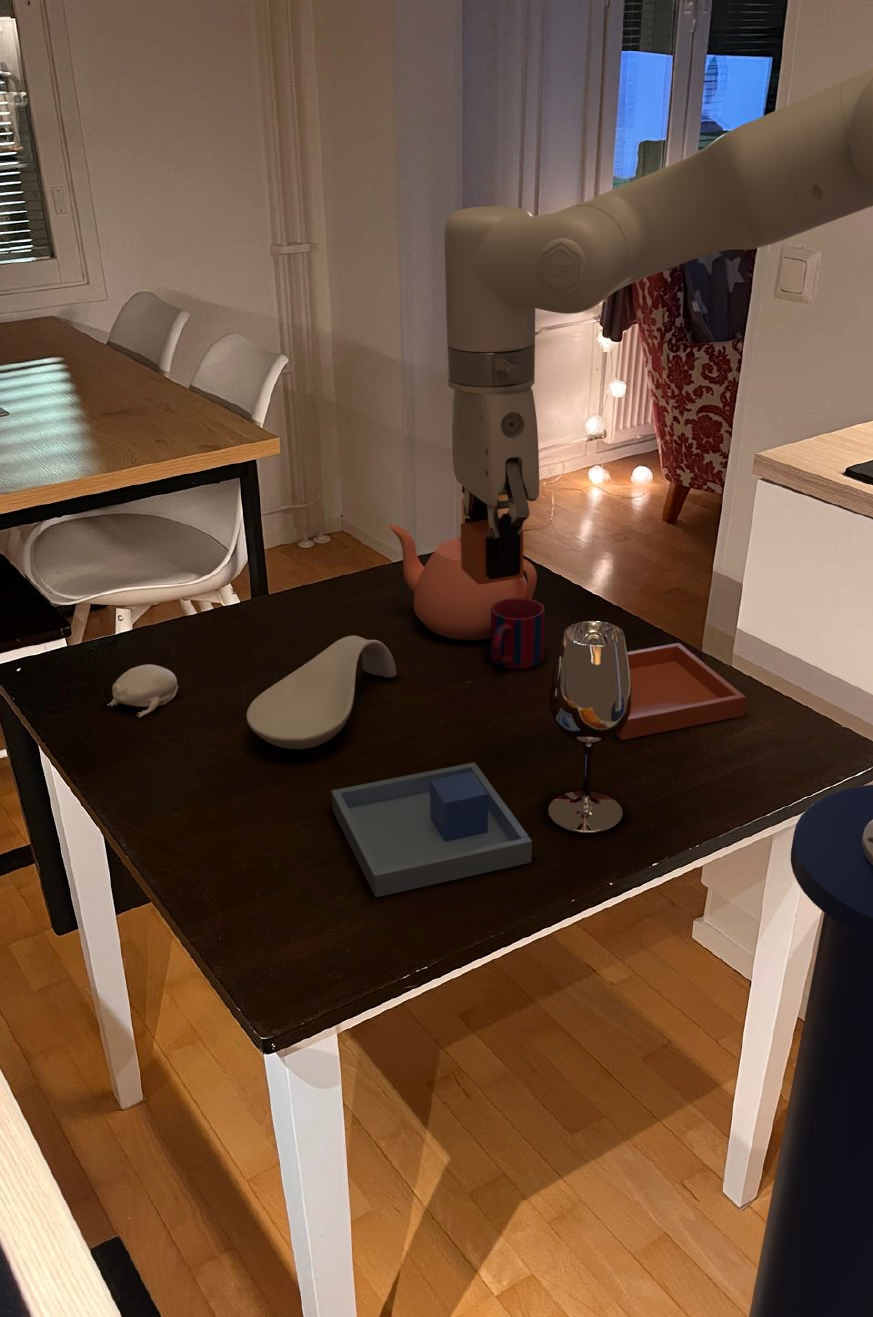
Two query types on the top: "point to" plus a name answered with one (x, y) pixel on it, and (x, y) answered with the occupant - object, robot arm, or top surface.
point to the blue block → (458, 806)
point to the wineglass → (590, 714)
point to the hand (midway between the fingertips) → (492, 564)
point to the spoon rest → (317, 695)
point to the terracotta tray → (676, 692)
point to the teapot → (456, 590)
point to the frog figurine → (145, 687)
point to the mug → (517, 633)
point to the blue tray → (422, 833)
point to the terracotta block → (480, 552)
